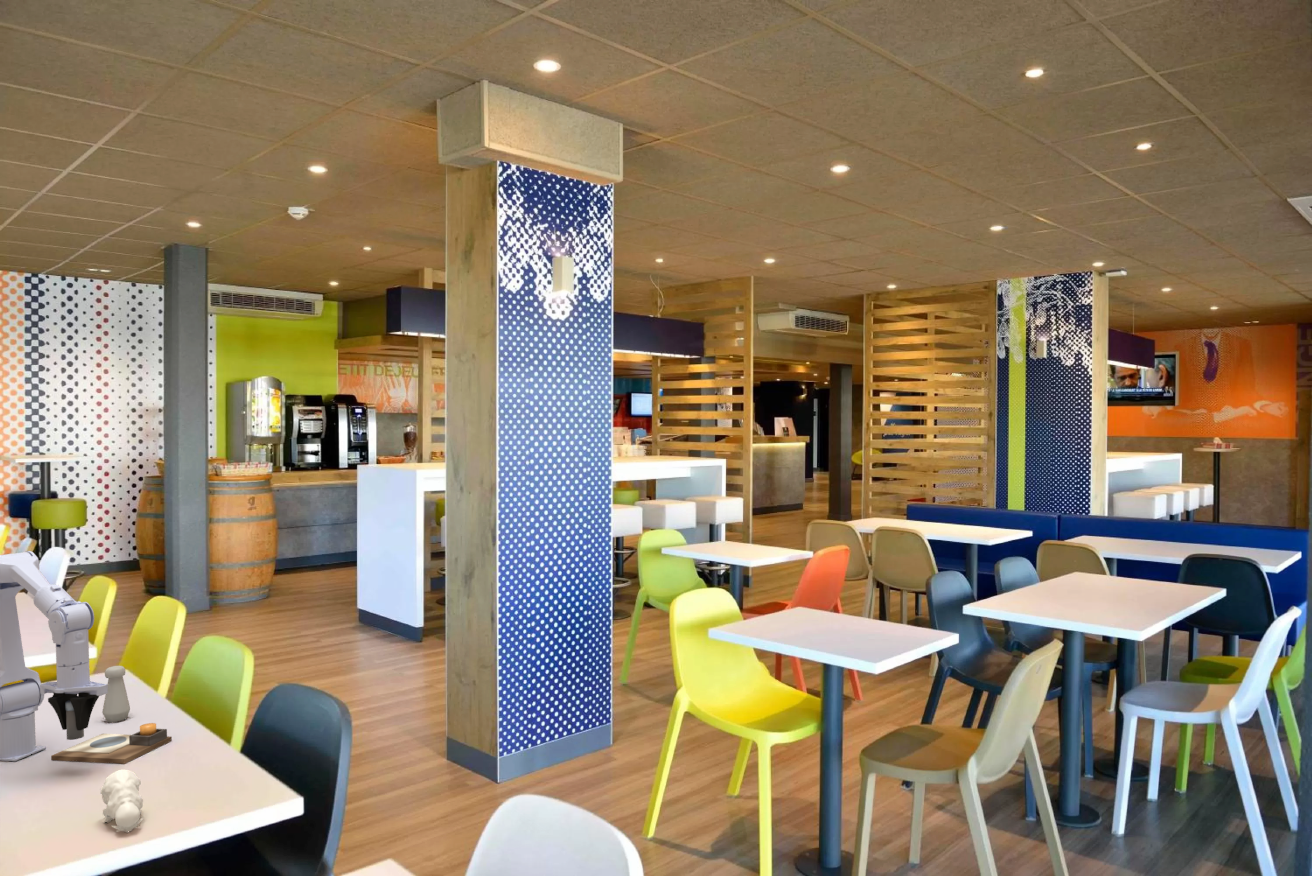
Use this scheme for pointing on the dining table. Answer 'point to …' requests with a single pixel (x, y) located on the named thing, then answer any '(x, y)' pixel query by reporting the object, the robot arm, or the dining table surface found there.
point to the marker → (72, 723)
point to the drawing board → (113, 748)
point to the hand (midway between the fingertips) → (75, 728)
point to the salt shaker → (115, 695)
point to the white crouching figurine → (122, 800)
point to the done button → (148, 729)
